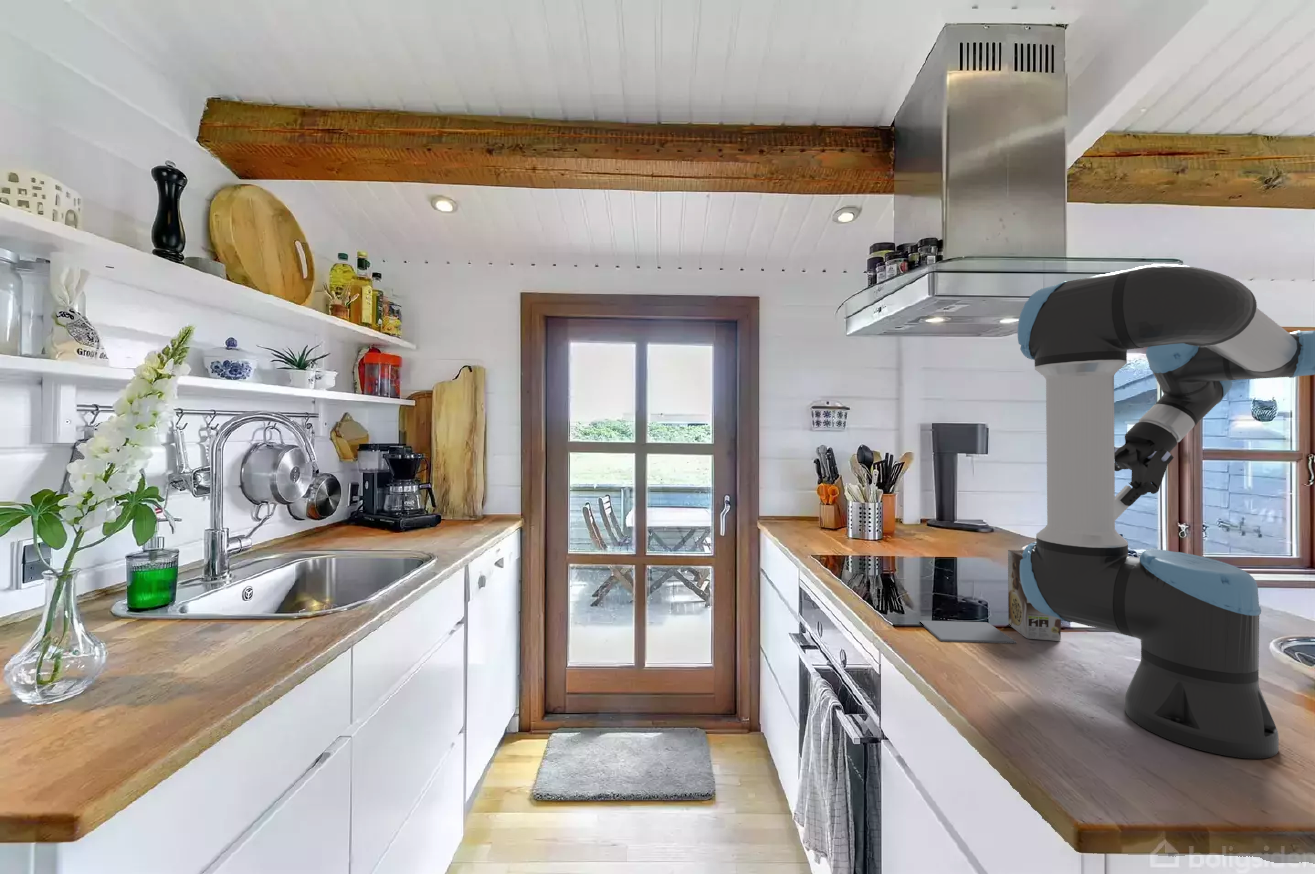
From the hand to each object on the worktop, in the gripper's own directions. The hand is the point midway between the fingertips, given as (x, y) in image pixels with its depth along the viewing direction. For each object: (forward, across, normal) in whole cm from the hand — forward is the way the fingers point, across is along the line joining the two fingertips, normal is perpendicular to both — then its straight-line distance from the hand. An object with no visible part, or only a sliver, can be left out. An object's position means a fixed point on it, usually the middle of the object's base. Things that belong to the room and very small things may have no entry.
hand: (1082, 509), depth 113 cm
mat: (+34, 0, 0) cm, 34 cm away
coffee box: (+25, 0, -10) cm, 27 cm away
